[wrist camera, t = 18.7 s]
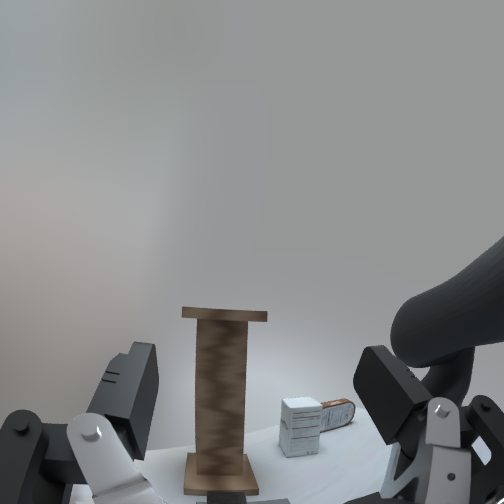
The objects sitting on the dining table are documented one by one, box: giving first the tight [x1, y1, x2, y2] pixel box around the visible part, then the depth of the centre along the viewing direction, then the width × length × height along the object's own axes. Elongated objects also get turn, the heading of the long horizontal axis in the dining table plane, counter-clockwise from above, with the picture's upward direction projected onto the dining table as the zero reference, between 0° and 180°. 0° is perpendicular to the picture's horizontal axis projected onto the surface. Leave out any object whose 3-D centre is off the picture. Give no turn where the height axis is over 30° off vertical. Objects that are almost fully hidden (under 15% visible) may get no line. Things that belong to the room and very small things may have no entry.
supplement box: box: [279, 397, 323, 457], centre depth 51 cm, size 7×7×13 cm
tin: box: [320, 399, 355, 432], centre depth 62 cm, size 15×3×8 cm, turn 112°
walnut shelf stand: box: [182, 307, 267, 496], centre depth 41 cm, size 12×14×32 cm
